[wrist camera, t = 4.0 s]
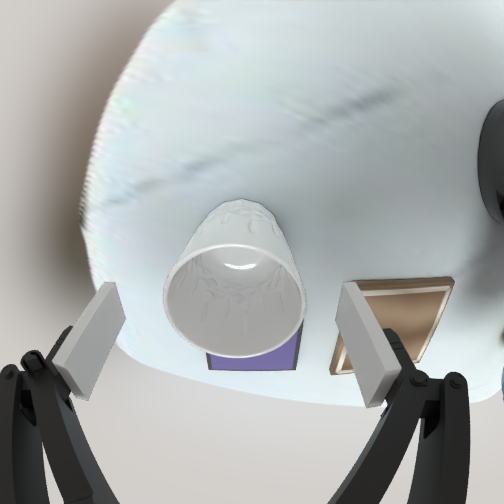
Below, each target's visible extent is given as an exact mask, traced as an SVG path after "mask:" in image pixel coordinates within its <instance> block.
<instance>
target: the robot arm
mask: <svg viewBox="0 0 504 504" xmlns="http://www.w3.org/2000/svg"><path fill="white" fill-rule="evenodd" d="M478 169H479V182H480V188H481V193H482V197H483V200H484V203H485V206H486V208H487V210H488V212H489V213H490V215H491V216H492V217H493V218H494V219H495V220H496V221H498V222H499V223H501V224H502V225H504V100H502V101H500V102H498V103H497V104H496V105H495V106H494V107H493V108H492V110H491V111H490V113H489V115H488V117H487V119H486V121H485V124H484V127H483V131H482V135H481V140H480V146H479V160H478ZM125 320H126V317H125V314H124V311H123V308H122V304H121V301H120V298H119V294H118V291H117V287H116V283H115V282H104V283H103V285H102V286H101V287H100V289H99V290H98V291H97V293H96V294H95V296H94V297H93V299H92V300H91V301H90V303H89V305H88V306H87V307H86V309H85V310H84V311H83V313H82V314H81V316H80V317H79V319H78V321H77V322H76V324H75V325H74V326H69V327H68V328H67V329H65V330H64V331H63V332H62V334H61V335H60V337H59V339H58V340H57V341H56V344H55V345H54V346H53V348H52V349H51V351H50V353H49V354H48V356H47V357H46V359H44V358H43V356H42V354H41V352H39V351H37V350H31V351H29V352H27V353H26V354H25V355H24V356H23V357H22V359H21V365H22V367H23V368H24V370H25V371H19V369H18V368H17V366H16V365H14V364H9V365H7V366H5V367H4V368H3V369H2V371H1V373H0V504H50V502H49V497H48V491H47V485H46V478H45V471H44V460H43V448H42V442H43V446H44V449H45V452H46V455H47V458H48V461H49V464H50V467H51V470H52V473H53V476H54V478H55V481H56V483H57V486H58V488H59V490H60V493H61V495H62V498H63V500H64V504H120V503H119V502H118V501H117V498H116V497H115V495H114V493H113V492H112V490H111V488H110V487H109V485H108V483H107V481H106V479H105V477H104V475H103V474H102V472H101V470H100V468H99V466H98V464H97V462H96V460H95V457H94V455H93V453H92V451H91V449H90V447H89V444H88V442H87V440H86V437H85V435H84V433H83V430H82V428H81V425H80V423H79V420H78V417H77V415H76V412H75V409H74V406H73V403H72V400H71V399H70V397H69V395H70V392H71V391H72V393H73V394H74V395H75V397H76V398H79V399H82V400H86V401H88V400H89V398H90V395H91V393H92V390H93V388H94V385H95V383H96V381H97V379H98V377H99V374H100V372H101V370H102V368H103V365H104V363H105V361H106V359H107V357H108V355H109V352H110V350H111V348H112V346H113V344H114V342H115V340H116V338H117V336H118V334H119V332H120V330H121V328H122V326H123V324H124V322H125ZM335 321H336V323H337V326H338V329H339V331H340V334H341V337H342V339H343V342H344V345H345V347H346V350H347V353H348V356H349V359H350V361H351V364H352V367H353V370H354V373H355V376H356V379H357V381H358V384H359V387H360V390H361V393H362V396H363V399H364V402H365V405H366V408H371V407H376V406H381V405H382V403H383V401H384V400H385V399H386V402H387V404H388V405H387V407H386V408H385V410H384V412H383V413H382V415H381V419H380V421H379V423H378V424H377V426H376V428H375V430H374V432H373V434H372V436H371V437H370V439H369V441H368V443H367V444H366V446H365V448H364V450H363V451H362V453H361V455H360V456H359V458H358V460H357V461H356V463H355V464H354V466H353V468H352V469H351V471H350V472H349V474H348V475H347V477H346V478H345V480H344V481H343V483H342V484H341V486H340V487H339V488H338V490H337V491H336V493H335V494H334V495H333V497H332V498H331V499H330V501H329V502H328V504H379V502H380V501H381V499H382V498H383V495H384V494H385V492H386V490H387V489H388V486H389V485H390V483H391V481H392V479H393V477H394V475H395V473H396V471H397V469H398V467H399V465H400V463H401V461H402V459H403V457H404V455H405V452H406V450H407V448H408V445H409V443H410V441H411V438H412V436H413V433H414V431H415V428H416V425H417V423H418V420H419V418H421V425H420V435H419V443H418V451H417V457H416V463H415V470H414V475H413V480H412V485H411V489H410V494H409V498H408V502H407V504H465V503H466V496H467V488H468V478H469V465H470V410H469V396H468V385H467V381H466V379H465V377H464V376H463V375H461V374H460V373H457V372H450V373H448V374H447V375H446V376H445V378H444V379H433V378H429V376H428V375H427V374H426V373H425V372H423V371H421V370H417V369H416V367H415V365H414V363H413V362H412V360H411V358H410V356H409V354H408V352H407V350H406V349H405V347H404V345H403V343H401V340H400V338H399V336H398V334H397V333H396V332H394V331H393V330H392V329H391V328H386V329H381V327H380V325H379V323H378V321H377V319H376V317H375V316H374V314H373V312H372V310H371V308H370V307H369V305H368V303H367V301H366V299H365V298H364V296H363V294H362V292H361V291H360V289H359V287H358V285H357V284H356V282H343V285H342V290H341V295H340V300H339V305H338V309H337V314H336V319H335ZM501 384H502V392H503V400H504V368H503V372H502V383H501Z"/></svg>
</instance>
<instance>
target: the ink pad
mask: <svg viewBox="0 0 504 504" xmlns="http://www.w3.org/2000/svg"><path fill="white" fill-rule="evenodd" d="M303 321H304V318H303ZM303 321H302V323H301V325H300V327H299V329H298V330H297V331H296V333H295V334H294V335H293V336H292V337H291V338H290V339H289V340H288V341H287V342H286V343H284V344H283V345H282V346H280V347H278V348H277V349H275V350H273V351H271V352H268V353H265V354H262V355H259V356H254V357H248V358H227V357H221V356H216V355H213V354H210V353H207V352H206V356H207V362H208V368H209V370H229V371H281V370H296V366H297V360H298V354H299V348H300V341H301V335H302V328H303Z"/></svg>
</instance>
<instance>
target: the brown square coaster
mask: <svg viewBox="0 0 504 504" xmlns="http://www.w3.org/2000/svg"><path fill="white" fill-rule="evenodd" d="M351 282H356V284H357V285H358V287H359V289H360V291H361V292H362V294H363V296H364V298H365V299H366V301H367V303H368V305H369V307H370V308H371V310H372V312H373V314H374V316H375V317H376V319H377V321H378V323H379V325H380V327H381V329H386V328H391V329H392V330H393V331H394V332H396V333H397V334H398V336H399V338H400V340H401V343H403V345H404V347H405V349H406V350H407V352H408V354H409V356H410V358H411V360H412V362H413V363H414V364H415V363H419V362H420V360H421V358H422V356H423V354H424V352H425V350H426V348H427V346H428V344H429V342H430V340H431V338H432V336H433V334H434V332H435V329H436V327H437V325H438V323H439V321H440V318H441V316H442V314H443V311H444V309H445V306H446V304H447V301H448V299H449V296H450V294H451V291H452V288H453V286H454V283H455V281H454V280H453V279H452V278H451V277H440V278H421V279H399V280H371V281H351ZM329 370H330V374H331V375H339V374H349V373H354V370H353V367H352V364H351V361H350V359H349V356H348V353H347V350H346V347H345V345H344V342H343V339H342V337H341V334H340V332H339V336H338V340H337V344H336V348H335V351H334V355H333V358H332V362H331V365H330V369H329Z"/></svg>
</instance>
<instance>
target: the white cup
mask: <svg viewBox="0 0 504 504" xmlns="http://www.w3.org/2000/svg"><path fill="white" fill-rule="evenodd" d="M163 304H164V309H165V313H166V315H167V318H168V320H169V322H170V323H171V325H172V327H173V328H174V329H175V331H176V332H177V333H178V334H179V335H180V336H181V337H182V338H183V339H184V340H186V341H187V342H188V343H190V344H191V345H193V346H194V347H196V348H198V349H200V350H202V351H204V352H207V353H210V354H213V355H216V356H221V357H227V358H248V357H254V356H259V355H262V354H265V353H268V352H271V351H273V350H275V349H277V348H278V347H280V346H282V345H283V344H284V343H286V342H287V341H288V340H289V339H290V338H291V337H292V336H293V335H294V334H295V333H296V331H297V330H298V329H299V327H300V325H301V323H302V321H303V318H304V315H305V311H306V295H305V291H304V287H303V285H302V282H301V279H300V276H299V274H298V271H297V268H296V265H295V262H294V260H293V257H292V254H291V251H290V249H289V247H288V244H287V242H286V240H285V237H284V235H283V233H282V231H281V230H280V228H279V226H278V224H277V222H276V219H275V217H274V215H273V214H272V213H270V212H269V211H268V210H267V209H266V208H264V207H263V206H262V205H261V204H259V203H255V202H251V201H248V200H244V199H239V200H233V201H228V202H223V203H222V204H220V205H219V206H218V207H216V208H215V209H214V210H212V211H211V212H210V213H209V214H208V215H207V217H206V219H205V220H204V221H203V223H202V224H201V225H200V226H199V227H198V229H197V230H196V232H195V233H194V235H193V236H192V237H191V239H190V241H189V242H188V244H187V246H186V247H185V249H184V251H183V252H182V254H181V256H180V257H179V259H178V261H177V262H176V264H175V266H174V267H173V269H172V271H171V272H170V274H169V276H168V278H167V280H166V283H165V286H164V292H163Z"/></svg>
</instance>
